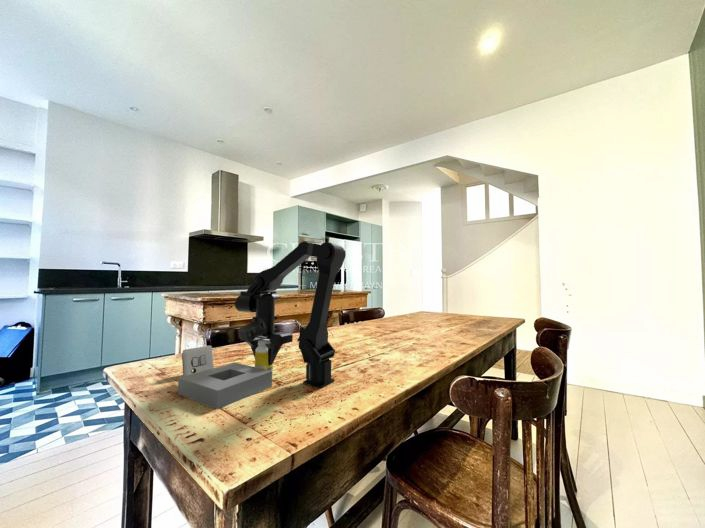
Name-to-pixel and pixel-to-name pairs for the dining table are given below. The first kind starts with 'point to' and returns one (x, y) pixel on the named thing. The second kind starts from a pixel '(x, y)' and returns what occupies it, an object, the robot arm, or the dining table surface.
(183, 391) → the socket block
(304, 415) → the dining table surface
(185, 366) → the electrical switch
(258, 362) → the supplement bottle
